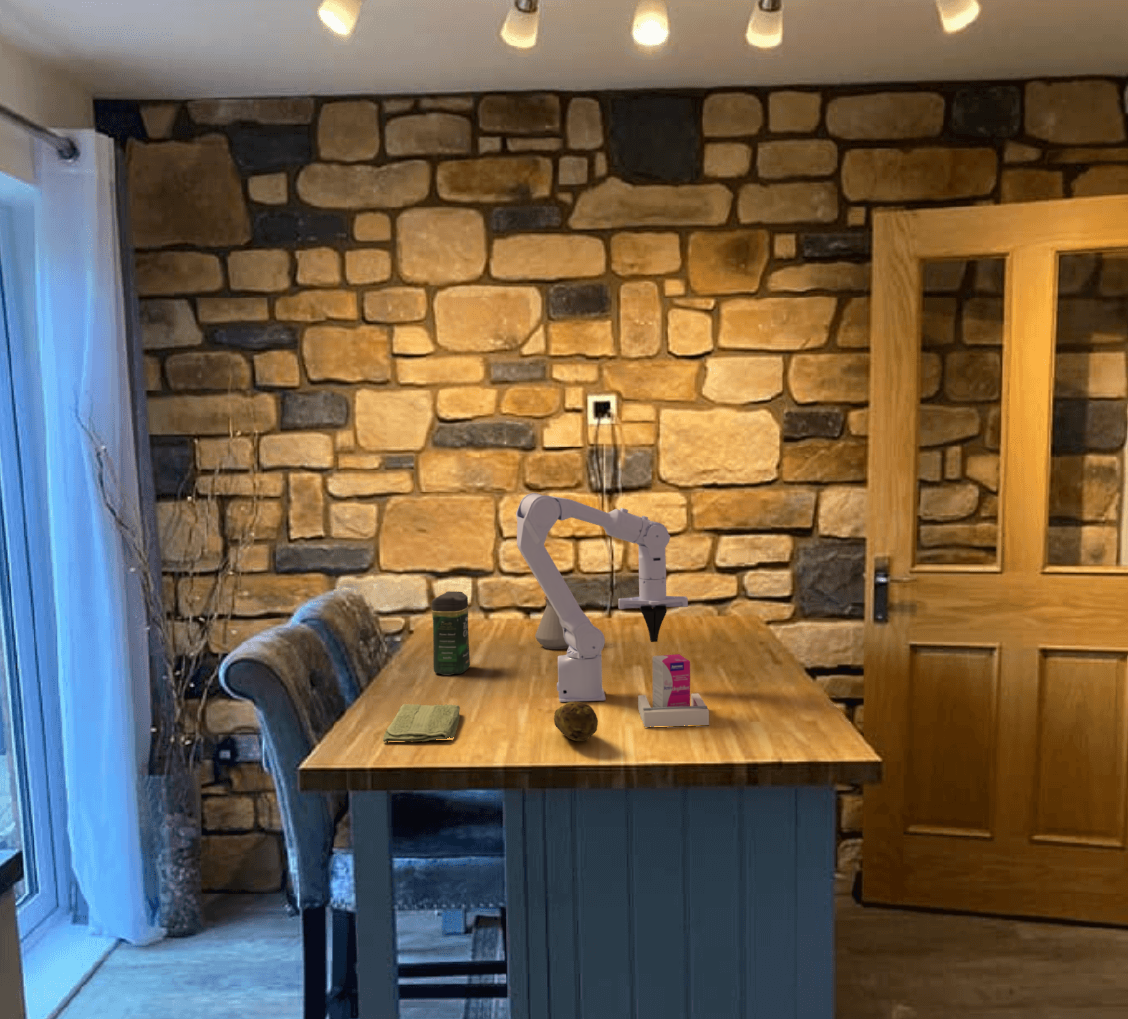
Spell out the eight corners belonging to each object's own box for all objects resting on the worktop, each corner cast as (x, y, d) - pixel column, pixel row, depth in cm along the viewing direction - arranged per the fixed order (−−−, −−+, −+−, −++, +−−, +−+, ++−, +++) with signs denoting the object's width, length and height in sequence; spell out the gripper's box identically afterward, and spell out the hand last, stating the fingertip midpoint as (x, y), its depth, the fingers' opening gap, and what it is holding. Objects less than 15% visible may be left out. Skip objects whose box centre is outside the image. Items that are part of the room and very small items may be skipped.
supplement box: (662, 722, 177) (661, 662, 176) (652, 713, 183) (651, 655, 182) (691, 719, 178) (690, 660, 177) (680, 710, 184) (679, 653, 183)
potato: (600, 729, 173) (599, 687, 173) (597, 753, 161) (596, 708, 160) (555, 729, 174) (554, 687, 173) (549, 753, 161) (548, 708, 161)
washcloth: (380, 747, 168) (380, 730, 168) (399, 717, 186) (398, 701, 186) (453, 745, 168) (452, 728, 168) (465, 715, 186) (464, 700, 185)
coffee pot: (581, 650, 237) (579, 591, 235) (535, 651, 236) (534, 593, 235) (576, 632, 258) (574, 578, 257) (534, 633, 257) (532, 579, 256)
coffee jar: (463, 676, 214) (460, 596, 213) (430, 675, 215) (426, 596, 214) (474, 665, 224) (471, 589, 222) (442, 665, 225) (439, 589, 223)
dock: (644, 728, 174) (644, 711, 173) (638, 710, 185) (638, 694, 185) (709, 725, 174) (708, 708, 174) (698, 708, 185) (698, 692, 185)
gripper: (619, 581, 193) (621, 646, 195) (689, 579, 194) (690, 643, 195) (617, 576, 200) (618, 638, 202) (684, 574, 201) (685, 636, 202)
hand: (653, 640), depth 199 cm, fingers closed
